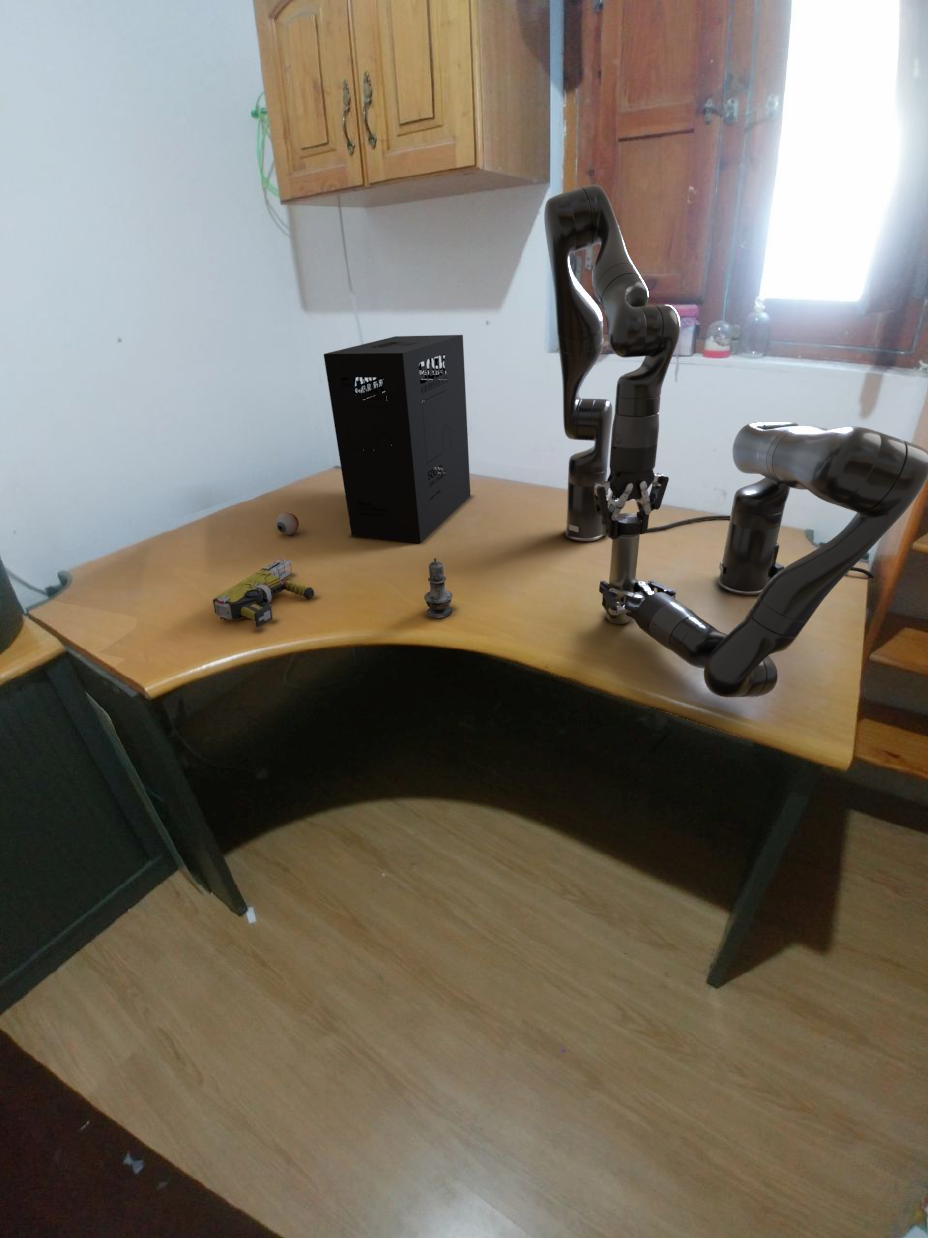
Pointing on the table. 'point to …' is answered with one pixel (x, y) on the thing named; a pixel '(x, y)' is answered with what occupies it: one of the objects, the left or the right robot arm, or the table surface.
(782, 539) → the table surface
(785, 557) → the table surface
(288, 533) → the eyeball
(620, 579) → the metal thermos bottle
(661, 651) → the table surface
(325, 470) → the table surface
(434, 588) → the dark chess piece
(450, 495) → the cardboard box
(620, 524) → the lid
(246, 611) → the toy gun
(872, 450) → the right robot arm
